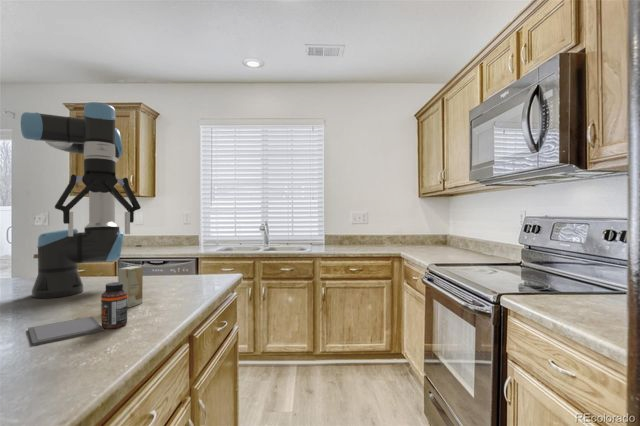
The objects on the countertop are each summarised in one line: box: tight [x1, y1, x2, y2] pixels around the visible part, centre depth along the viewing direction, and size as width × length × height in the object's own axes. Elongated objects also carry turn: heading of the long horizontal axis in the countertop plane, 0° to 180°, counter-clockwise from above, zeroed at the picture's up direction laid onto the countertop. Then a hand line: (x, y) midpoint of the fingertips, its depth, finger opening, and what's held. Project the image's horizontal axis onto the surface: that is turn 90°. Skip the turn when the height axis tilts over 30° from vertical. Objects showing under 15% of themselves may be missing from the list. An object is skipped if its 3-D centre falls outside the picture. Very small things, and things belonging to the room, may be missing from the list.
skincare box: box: [117, 265, 144, 308], centre depth 113 cm, size 6×4×12 cm
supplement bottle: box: [100, 281, 128, 330], centre depth 93 cm, size 6×6×11 cm
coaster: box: [27, 316, 105, 346], centre depth 89 cm, size 14×14×1 cm
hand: (100, 235), depth 98 cm, fingers open, 13 cm apart
